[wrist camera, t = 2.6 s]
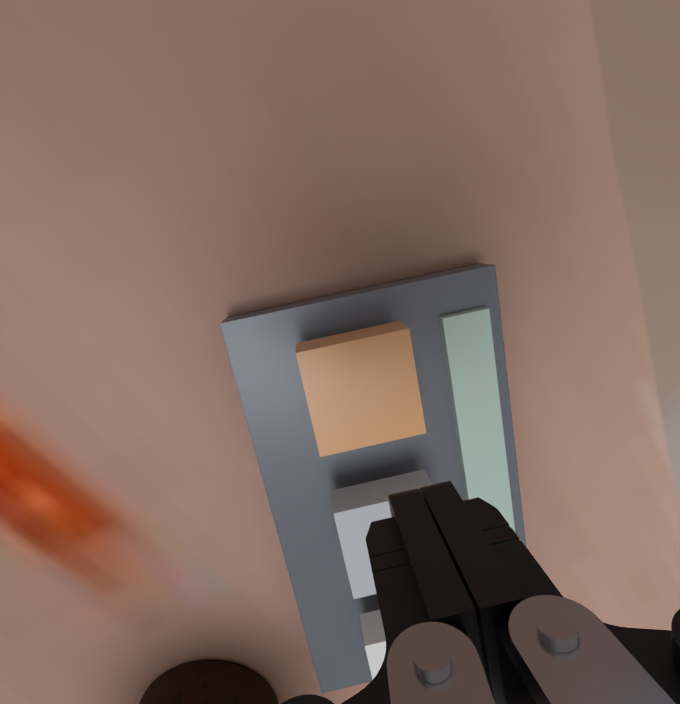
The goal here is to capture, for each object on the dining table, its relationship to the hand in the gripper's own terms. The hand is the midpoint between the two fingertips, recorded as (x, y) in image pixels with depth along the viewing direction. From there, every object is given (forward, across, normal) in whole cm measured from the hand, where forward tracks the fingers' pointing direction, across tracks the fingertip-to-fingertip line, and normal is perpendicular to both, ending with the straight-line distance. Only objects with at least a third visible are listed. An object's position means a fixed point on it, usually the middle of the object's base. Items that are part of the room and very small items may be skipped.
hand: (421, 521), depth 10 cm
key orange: (+11, 0, 0) cm, 11 cm away
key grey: (+11, 0, +8) cm, 14 cm away
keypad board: (+14, -1, +8) cm, 17 cm away
